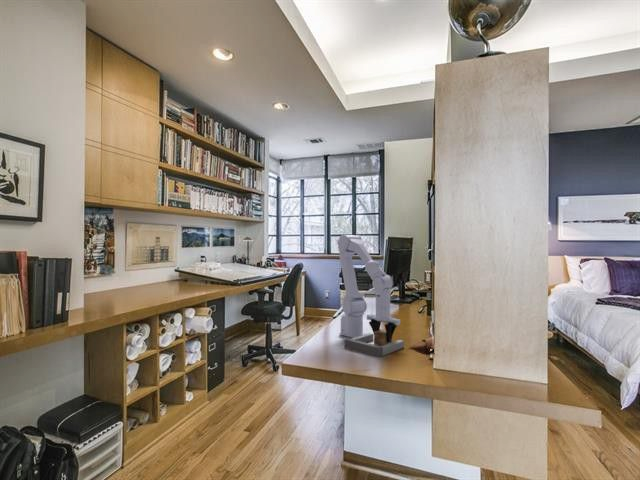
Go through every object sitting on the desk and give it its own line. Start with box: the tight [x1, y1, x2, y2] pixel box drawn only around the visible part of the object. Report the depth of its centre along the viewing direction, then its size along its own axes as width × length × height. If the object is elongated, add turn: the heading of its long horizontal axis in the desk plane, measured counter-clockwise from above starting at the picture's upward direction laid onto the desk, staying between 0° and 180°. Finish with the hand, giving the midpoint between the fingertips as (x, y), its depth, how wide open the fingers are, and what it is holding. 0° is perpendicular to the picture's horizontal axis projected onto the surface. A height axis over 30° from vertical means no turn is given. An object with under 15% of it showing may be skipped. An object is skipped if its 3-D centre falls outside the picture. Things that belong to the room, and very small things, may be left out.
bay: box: [343, 332, 405, 358], centre depth 121 cm, size 16×16×3 cm
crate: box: [373, 329, 393, 346], centre depth 125 cm, size 5×5×5 cm
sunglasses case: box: [408, 336, 433, 355], centre depth 122 cm, size 18×7×7 cm, turn 131°
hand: (382, 340), depth 125 cm, fingers closed on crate, 5 cm apart
